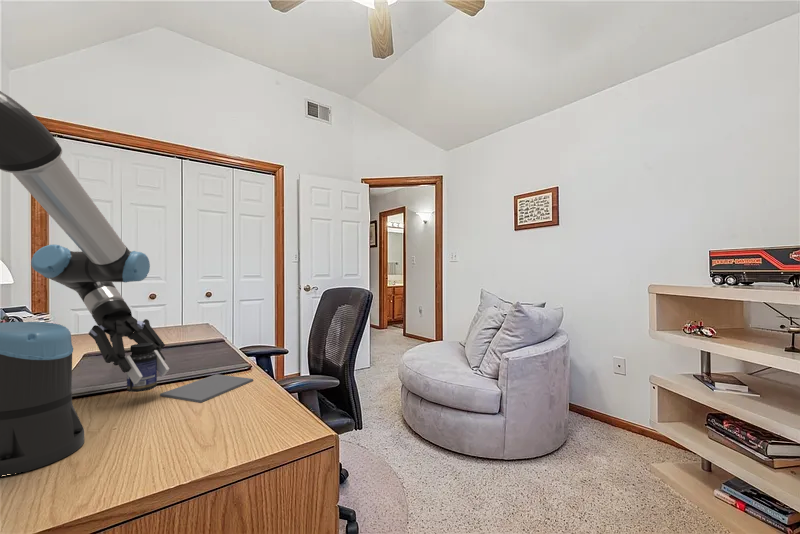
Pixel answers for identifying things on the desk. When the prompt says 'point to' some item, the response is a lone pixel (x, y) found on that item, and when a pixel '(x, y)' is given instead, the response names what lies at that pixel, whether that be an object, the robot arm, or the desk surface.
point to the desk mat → (206, 388)
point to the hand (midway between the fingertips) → (152, 376)
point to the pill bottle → (143, 367)
